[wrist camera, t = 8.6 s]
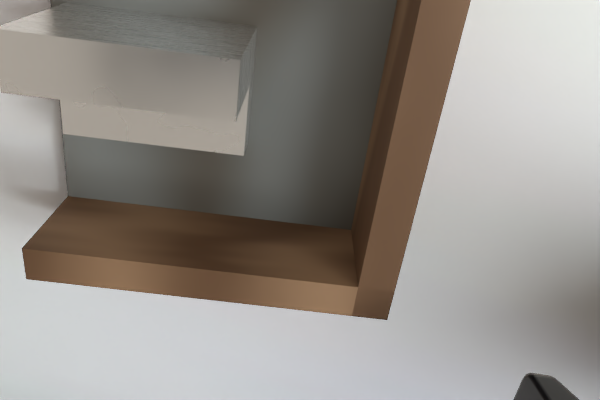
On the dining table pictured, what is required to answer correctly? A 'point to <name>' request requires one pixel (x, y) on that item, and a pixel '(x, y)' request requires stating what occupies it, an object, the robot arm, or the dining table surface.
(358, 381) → the dining table surface
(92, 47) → the white stepped block
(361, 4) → the arena
